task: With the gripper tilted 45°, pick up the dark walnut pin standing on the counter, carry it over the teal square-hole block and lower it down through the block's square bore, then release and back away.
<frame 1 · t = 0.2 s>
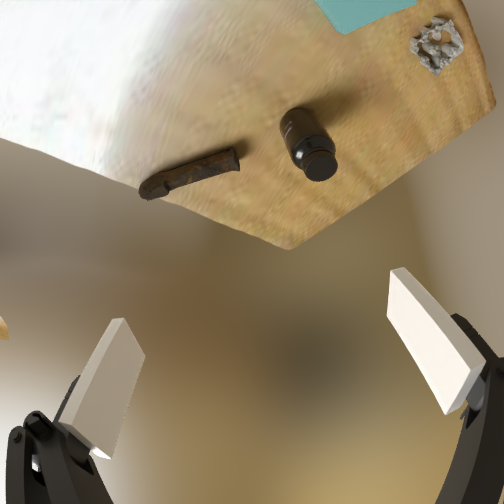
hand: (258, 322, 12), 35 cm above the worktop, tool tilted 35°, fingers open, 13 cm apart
supplement bottle: (298, 123, 41), on the worktop
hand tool: (187, 168, 47), on the worktop
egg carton: (430, 40, 26), on the worktop
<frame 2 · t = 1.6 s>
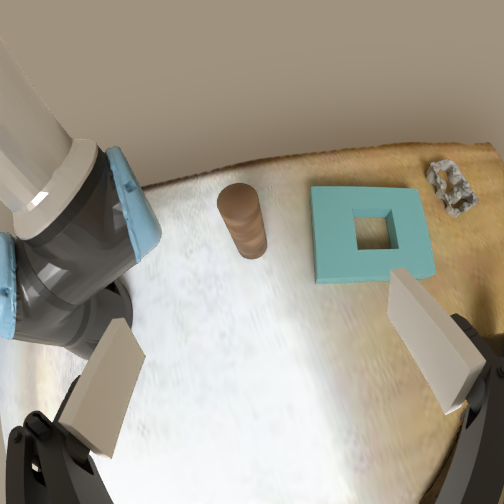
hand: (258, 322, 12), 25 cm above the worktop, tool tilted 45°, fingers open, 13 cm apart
supplement bottle: (481, 356, 30), on the worktop
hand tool: (443, 472, 24), on the worktop
teal square-hole block: (370, 236, 39), on the worktop
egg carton: (446, 192, 40), on the worktop
walnut pin: (252, 245, 41), on the worktop
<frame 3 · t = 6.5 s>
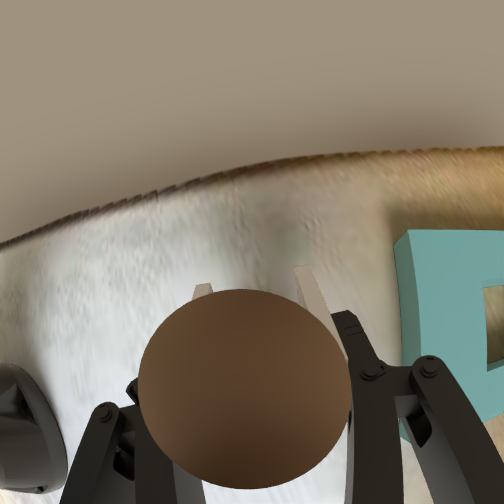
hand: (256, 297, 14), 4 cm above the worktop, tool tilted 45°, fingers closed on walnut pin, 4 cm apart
teal square-hole block: (489, 325, 15), on the worktop
walnut pin: (272, 364, 17), on the worktop, touching gripper
when the fingers open (6 cm above the worktop, at t = 12.6 s): walnut pin drops 2 cm, resting in teal square-hole block.
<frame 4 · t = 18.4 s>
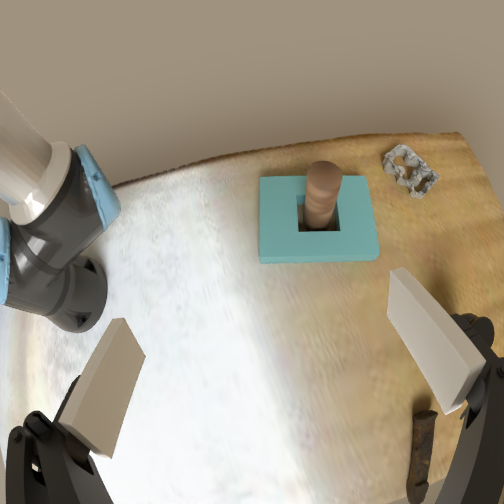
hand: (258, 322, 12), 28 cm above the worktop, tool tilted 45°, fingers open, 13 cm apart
supplement bottle: (438, 341, 34), on the worktop
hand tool: (417, 458, 28), on the worktop
teal square-hole block: (316, 221, 44), on the worktop
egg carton: (406, 176, 45), on the worktop
walnut pin: (316, 221, 44), resting in teal square-hole block
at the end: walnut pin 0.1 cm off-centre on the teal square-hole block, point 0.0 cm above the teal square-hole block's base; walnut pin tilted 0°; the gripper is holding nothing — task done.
